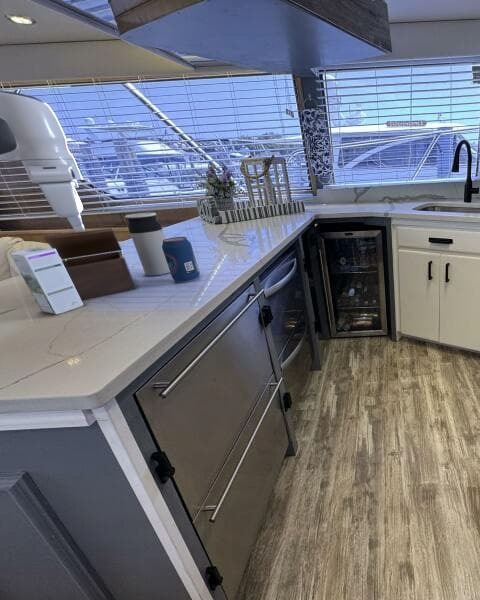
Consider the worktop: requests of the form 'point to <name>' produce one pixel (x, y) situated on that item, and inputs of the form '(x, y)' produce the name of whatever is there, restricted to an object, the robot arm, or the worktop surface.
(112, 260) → the chest
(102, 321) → the worktop surface
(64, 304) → the syrup box
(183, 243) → the soda can
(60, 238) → the chest lid
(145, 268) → the travel mug
